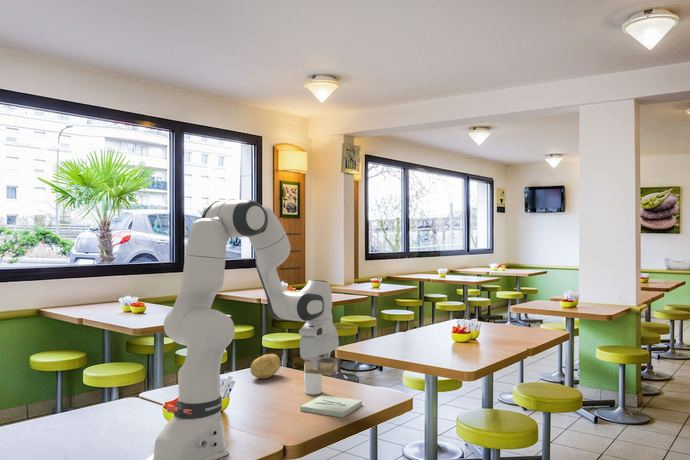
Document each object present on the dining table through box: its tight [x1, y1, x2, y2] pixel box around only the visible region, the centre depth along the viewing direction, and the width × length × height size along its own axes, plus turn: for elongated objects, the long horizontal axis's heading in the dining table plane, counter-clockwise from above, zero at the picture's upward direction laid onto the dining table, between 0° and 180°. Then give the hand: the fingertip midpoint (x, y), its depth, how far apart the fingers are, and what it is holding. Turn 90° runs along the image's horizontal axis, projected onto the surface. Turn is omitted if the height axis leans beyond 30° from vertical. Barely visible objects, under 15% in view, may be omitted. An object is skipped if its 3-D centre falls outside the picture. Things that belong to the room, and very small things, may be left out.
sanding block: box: [304, 356, 339, 376], centre depth 189 cm, size 5×10×4 cm, turn 62°
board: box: [299, 394, 363, 418], centre depth 187 cm, size 14×16×2 cm
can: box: [303, 363, 323, 396], centre depth 206 cm, size 6×6×12 cm
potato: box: [249, 353, 281, 379], centre depth 229 cm, size 10×14×10 cm
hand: (320, 367), depth 189 cm, fingers closed on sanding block, 5 cm apart
